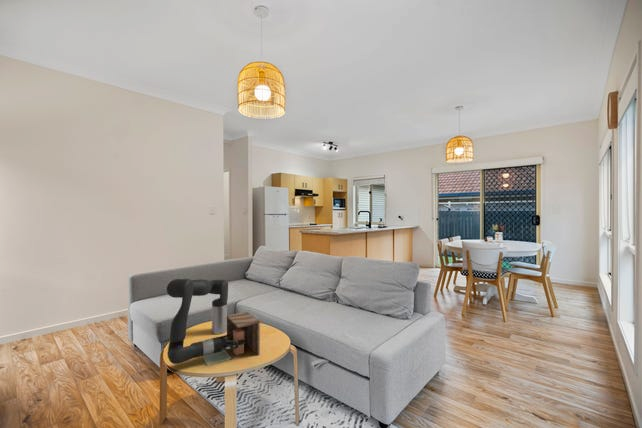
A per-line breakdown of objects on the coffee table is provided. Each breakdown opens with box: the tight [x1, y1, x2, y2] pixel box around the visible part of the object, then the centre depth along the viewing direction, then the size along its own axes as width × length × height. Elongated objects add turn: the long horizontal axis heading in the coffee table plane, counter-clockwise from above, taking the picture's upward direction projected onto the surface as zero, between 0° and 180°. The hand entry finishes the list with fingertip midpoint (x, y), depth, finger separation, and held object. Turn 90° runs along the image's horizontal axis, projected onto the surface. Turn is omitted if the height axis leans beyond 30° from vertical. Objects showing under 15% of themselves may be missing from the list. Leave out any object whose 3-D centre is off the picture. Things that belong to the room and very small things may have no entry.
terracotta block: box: [232, 329, 245, 356], centre depth 159 cm, size 4×4×12 cm
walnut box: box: [226, 311, 261, 356], centre depth 161 cm, size 19×12×18 cm, turn 34°
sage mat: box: [201, 349, 232, 366], centre depth 153 cm, size 11×12×1 cm
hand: (241, 338), depth 160 cm, fingers open, 8 cm apart
